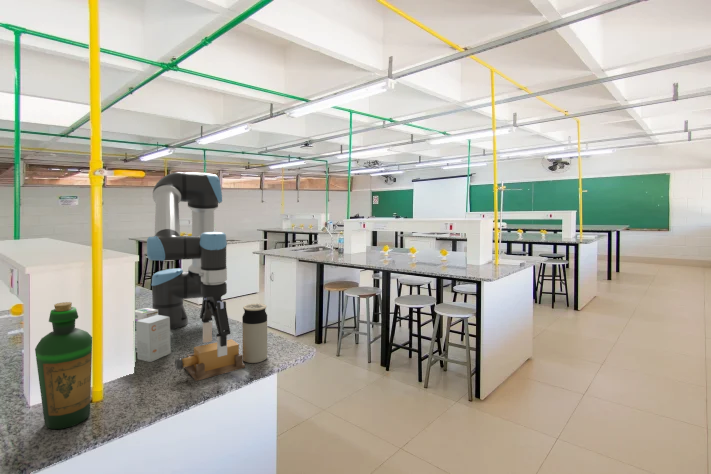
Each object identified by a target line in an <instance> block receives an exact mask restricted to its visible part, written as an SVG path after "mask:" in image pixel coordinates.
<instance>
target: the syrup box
mask: <svg viewBox="0 0 711 474" xmlns="http://www.w3.org/2000/svg"><path fill="white" fill-rule="evenodd" d="M134 311H135V352H134V353H137V333H136V321H138V320H141V319H145V318H148V317H151V316H154V315H158V310H155V309H152V308H150V307H143V308H138V309H135V310H134Z"/></svg>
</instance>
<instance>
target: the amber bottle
mask: <svg viewBox="0 0 711 474" xmlns="http://www.w3.org/2000/svg"><path fill="white" fill-rule="evenodd" d="M239 345H240V344H239V343H237V342H236V341H235V340H233V339H232V338H231V339H227V355H225V356H221V357H218V356H217V341H216V342H212V343H208V344H207V343H206V344H203V345H197V346H194V347H193V353H194V356H191V357H187V356H186V357H184V358H183V357H177V358H175V361H174V366H175V369H176V371H179V370H183V368H185V367H187V366H192V365H194V366H195V368H196V365H197V364H201V363H204V364H205V371H209V370H213V369H216V368H220V367H224V366H228V365H232V364H235V355H238V354H240V350H239V349H240V347H239Z"/></svg>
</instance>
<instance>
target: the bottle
mask: <svg viewBox="0 0 711 474" xmlns="http://www.w3.org/2000/svg"><path fill="white" fill-rule="evenodd" d="M53 305H54V309H51V310H50V314H49V318H48V322H49V323H51V324H52V325H51V326H52V331H50V332H49V333H47V334H46V335H44V336H43V337H41V339H40V340H39V341H38V343H37V345H36V346H35V348H34V351H35V359H36V360H35V361H36V368H37V375H38V383H39V389H40V390H39V391H40V397H41V398H40V399H41V406H42V413H43V421H44V426H45V427H46V428H48V429H50V430H58V429H59V430H61V429H66V428H67V429H68V428H71V427H73V426H76V425H78V424H80V423H82V422H84V421H85V420H86V419H88V418H89V417H90V415H91V394H92V391H91V390H92V365H93V364H92V361H93V360H92V358H93V357H92V354H93V336H92V335H91V334H90V333H89V332H88V331H86V330H83V329H81V328H78V327H76V320H77V319H79V315H78V310H77V307H75V306H72V302H71V301H69V302H68V301H65V302H58V303H55V304H53Z"/></svg>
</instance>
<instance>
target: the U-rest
mask: <svg viewBox="0 0 711 474" xmlns="http://www.w3.org/2000/svg"><path fill="white" fill-rule="evenodd" d="M191 356H194V352H193V353H188V354H186V358H187V357H191ZM245 368H246V365H245V363H243V353H242V354H241V353H239V354H238V355H235V364H232V365H228V366H224V367H220V368H216V369H213V370H209V371H205V364H204V363H201V364H197V365H196V368H195V366H194V365H192V366H187V367H184V369H185V370H186V372H188V374H189V375H190V376H191V378H192V379H194V381H195V382H198V381H202V380H205V379H209V378H212V377H215V376H219V375H223V374H227V373H231V372H233V371H234V372H235V371H238V370H241V369H245Z"/></svg>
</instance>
